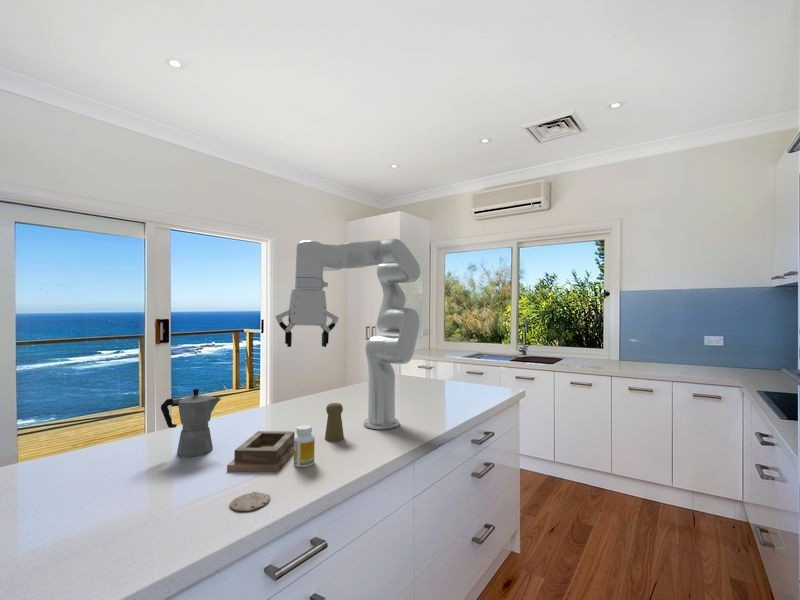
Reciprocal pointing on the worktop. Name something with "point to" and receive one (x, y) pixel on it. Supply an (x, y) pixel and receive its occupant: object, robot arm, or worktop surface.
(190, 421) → the coffeepot
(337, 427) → the cork
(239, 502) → the flatbread
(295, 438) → the supplement bottle
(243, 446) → the brown rectangular recessed tray
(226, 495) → the worktop surface
